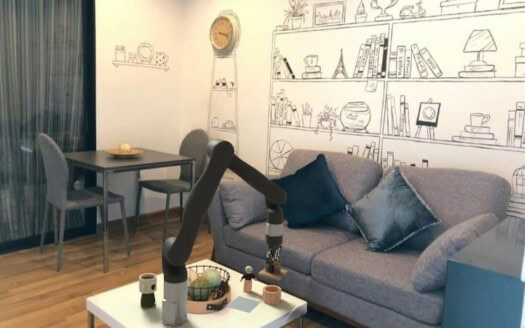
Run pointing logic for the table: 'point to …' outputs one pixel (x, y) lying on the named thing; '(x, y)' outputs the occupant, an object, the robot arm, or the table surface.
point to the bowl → (271, 294)
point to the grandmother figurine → (248, 279)
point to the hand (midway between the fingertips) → (272, 270)
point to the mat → (243, 304)
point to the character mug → (148, 289)
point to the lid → (277, 272)
